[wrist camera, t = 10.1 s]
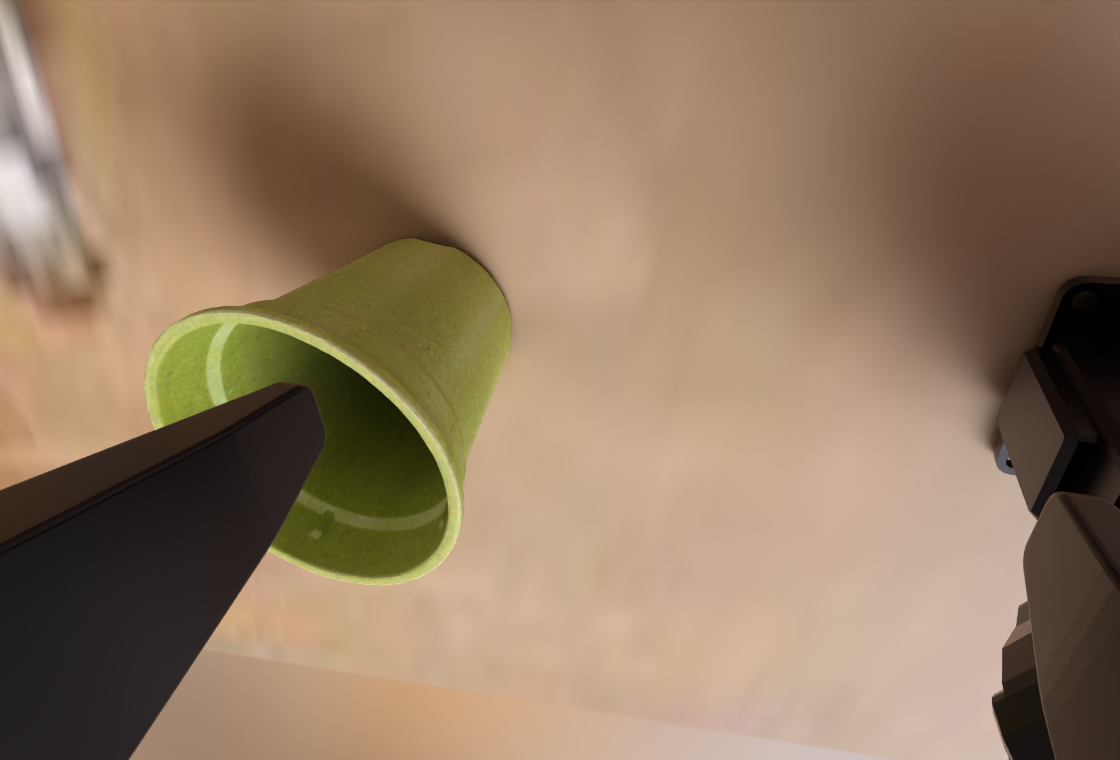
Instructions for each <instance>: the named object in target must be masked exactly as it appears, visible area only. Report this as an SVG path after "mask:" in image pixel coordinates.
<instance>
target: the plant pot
mask: <svg viewBox="0 0 1120 760" xmlns="http://www.w3.org/2000/svg"><path fill="white" fill-rule="evenodd" d="M510 346H511V315H510V311H509V308H508V305H507V302H506V300H505V298H504V296H503V294H502V292H501V290H500V289H499V287H498V286H497V284H496V283H495V281H494V280H493V279H492V278H491V276H490V275H489V274H488V273H487V272H486V271H485V270H484V269H483V268H482V267H481V266H480V265H479V264H478V263H477V262H475V261H474V260H473V259H472V258H471V257H469V256H468V255H466V254H465V253H463V252H461V251H460V250H458V249H456V248H453V247H448V246H442V245H438V244H434V243H430V242H426V241H422V240H419V239H416V238H408V239H401V240H397V241H393V242H391V243H388V244H386V245H384V246H382V247H381V248H379V249H377V250H375V251H373V252H371V253H369V254H367V255H365V256H363V257H361V258H359V259H357V260H355V261H353V262H351V263H349V264H347V265H345V266H343V267H341V268H339V269H337V270H334V271H332V272H330V273H328V274H326V275H324V276H322V277H320V278H318V279H316V280H314V281H312V282H310V283H308V284H306V285H304V286H302V287H300V288H298V289H296V290H294V291H291V292H289V293H287V294H285V295H283V296H281V297H279V298H277V299H275V300H265V301H257V302H253V303H249V304H246V305H243V306H223V307H215V308H209V309H205V310H201V311H198V312H195V313H192V314H190V315H188V316H186V317H184V318H183V319H181V320H179V321H177V322H175V323H174V324H172V325H171V326H170V327H168V328H167V329H166V330H165V331H164V332H163V333H162V334H161V335H160V336H159V337H158V339H157V340H156V342H155V343H154V344H153V346H152V348H151V350H150V352H149V355H148V357H147V363H146V366H145V368H146V371H145V383H144V392H145V399H146V404H147V409H148V412H149V415H150V418H151V421H152V424H153V427H154V430H156V429H159V428H161V427H164V426H167V425H169V424H172V423H174V422H177V421H179V420H182V419H185V418H187V417H190V416H192V415H195V414H197V413H200V412H203V411H205V410H208V409H210V408H213V407H215V406H218V405H221V404H223V403H226V402H228V401H231V400H233V399H236V398H238V397H241V396H244V395H246V394H249V393H251V392H254V391H256V390H259V389H262V388H264V387H267V386H269V385H272V384H274V383H277V382H283V381H285V382H293V383H300V384H305V385H307V386H309V387H310V388H311V389H312V390H313V392H314V394H315V397H316V400H317V404H318V407H319V410H320V413H321V416H322V419H323V422H324V425H325V428H326V442H325V446H324V448H323V450H322V452H321V454H320V456H319V458H318V460H317V462H316V464H315V465H314V467H313V469H312V471H311V473H310V475H309V477H308V479H307V481H306V482H305V484H304V486H303V488H302V490H301V492H300V494H299V496H298V498H297V499H296V501H295V503H294V505H293V507H292V509H291V511H290V513H289V515H288V516H287V518H286V520H285V522H284V524H283V526H282V527H281V529H280V531H279V533H278V535H277V536H276V538H275V540H274V541H273V543H272V544H271V546H270V548H269V549H268V551H269V552H270V553H272V554H274V555H276V556H278V557H280V558H282V559H284V560H286V561H288V562H290V563H292V564H294V565H297V566H299V567H301V568H303V569H305V570H308V571H310V572H313V573H316V574H319V575H322V576H325V577H329V578H332V579H336V580H339V581H344V582H350V583H356V584H364V585H391V584H399V583H403V582H406V581H410V580H414V579H417V578H419V577H421V576H424V575H426V574H427V573H429V572H431V571H432V570H433V569H435V568H436V567H438V566H439V565H440V564H441V563H442V562H443V560H444V559H445V558H446V557H447V556H448V554H449V553H450V551H451V550H452V548H453V546H454V544H455V542H456V540H457V538H458V535H459V533H460V530H461V526H462V522H463V514H464V495H463V485H464V479H465V471H466V459H467V457H468V454H469V451H470V449H471V446H472V444H473V441H474V439H475V436H476V434H477V431H478V429H479V426H480V424H481V421H482V419H483V416H484V414H485V411H486V409H487V406H488V404H489V401H490V399H491V396H492V394H493V392H494V389H495V387H496V384H497V382H498V380H499V377H500V375H501V373H502V370H503V368H504V365H505V363H506V360H507V357H508V355H509V352H510Z"/></svg>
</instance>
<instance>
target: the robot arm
mask: <svg viewBox="0 0 1120 760" xmlns="http://www.w3.org/2000/svg"><path fill="white" fill-rule="evenodd" d="M1085 291H1089V292H1091V295H1090V296H1089V297H1088V298H1087V299H1086V300H1084V301H1081V302H1073V301H1072V299H1073V298H1074V297H1075V295H1077V294H1079V293H1081V292H1085ZM997 424H998V427H999V430H1000V433H1001V436H1000V438H999V441H998V443H997V446H996V448H995V451H994V458H995V461H996V464H997V466H998V468H999V469H1000V470H1001V471H1002V472H1004V473H1007V474H1011V475H1016V477H1017V479H1018V482H1019V485H1020V488H1021V490H1022V493H1023V496H1024V498H1025V501H1026V504H1027V507H1028V509H1029V511H1030V512H1031V514H1032V515H1033V516H1034V517H1035V518H1036V519H1037V520H1038V521H1037V523H1036V525H1035V527H1034V529H1033V531H1032V533H1031V535H1030V537H1029V539H1028V542H1027V544H1026V546H1025V550H1024V557H1023V568H1024V576H1025V584H1026V592H1027V599H1028V601H1026V602H1025V603H1023V604H1021V605H1020V606H1019V608H1018V616H1017V624H1016V627H1015V629H1014V630H1013V632H1012V634H1011V635H1010V637H1009V638H1008V640H1007V642H1006V643H1005V645H1004V647H1003V648H1002V685H1003V690H1002V691H1000V692H998V693H996V694H994V696H993V697H992V707H993V714H994V717H995V720H996V723H997V727H998V730H999V733H1000V736H1001V739H1002V742H1003V745H1004V748H1005V750H1006V752H1007V754H1008V757H1009V760H1120V278H1111V277H1095V276H1080V277H1075V278H1073V279H1070V280H1068V281H1067V282H1065V283H1064V284H1063V285H1061V287H1060V288H1059V290H1058V291H1057V294H1056V296H1055V299H1054V301H1053V304H1052V306H1051V309H1050V311H1049V314H1048V316H1047V319H1046V321H1045V324H1044V327H1043V329H1042V332H1041V334H1040V337H1039V339H1038V342H1037V344H1036V346H1033V347H1031V348H1030V349H1028V350H1027V351H1025V352H1024V353H1023V354H1022V356H1021V359H1020V361H1019V364H1018V366H1017V369H1016V372H1015V374H1014V377H1013V379H1012V382H1011V385H1010V387H1009V390H1008V392H1007V395H1006V398H1005V400H1004V403H1003V405H1002V408H1001V411H1000V413H999V416H998V418H997ZM325 442H326V428H325V425H324V422H323V419H322V416H321V413H320V410H319V407H318V404H317V400H316V397H315V394H314V392H313V390H312V389H311V388H310V387H309V386H307V385H305V384H300V383H293V382H285V381H283V382H277V383H274V384H272V385H269V386H267V387H264V388H262V389H259V390H256V391H254V392H251V393H249V394H246V395H244V396H241V397H238V398H236V399H233V400H231V401H228V402H226V403H223V404H221V405H218V406H215V407H213V408H210V409H208V410H205V411H203V412H200V413H197V414H195V415H192V416H190V417H187V418H185V419H182V420H179V421H177V422H174V423H172V424H169V425H167V426H164V427H161V428H159V429H156V430H154V431H151V432H149V433H146V434H143V435H141V436H138V437H136V438H133V439H131V440H128V441H125V442H123V443H120V444H118V445H115V446H113V447H110V448H107V449H105V450H102V451H100V452H97V453H95V454H92V455H89V456H87V457H84V458H82V459H79V460H77V461H74V462H72V463H69V464H66V465H64V466H61V467H59V468H56V469H54V470H51V471H48V472H46V473H43V474H41V475H38V476H36V477H33V478H30V479H28V480H25V481H23V482H20V483H18V484H15V485H12V486H10V487H7V488H5V489H2V490H0V760H129V759H130V758H131V756H132V755H133V753H134V752H135V750H136V749H137V747H138V746H139V744H140V743H141V741H142V739H143V738H144V736H145V735H146V733H147V732H148V730H149V729H150V727H151V726H152V724H153V723H154V721H155V720H156V718H157V717H158V715H159V714H160V712H161V711H162V709H163V708H164V706H165V705H166V703H167V702H168V700H169V699H170V697H171V695H172V694H173V693H174V691H175V690H176V688H177V687H178V685H179V684H180V682H181V681H182V679H183V678H184V676H185V674H186V673H187V672H188V670H189V668H190V667H191V666H192V664H193V662H194V661H195V659H196V658H197V656H198V655H199V653H200V652H201V650H202V649H203V647H204V646H205V644H206V643H207V641H208V640H209V638H210V637H211V635H212V634H213V632H214V631H215V629H216V628H217V626H218V625H219V623H220V622H221V620H222V619H223V617H224V616H225V614H226V613H227V611H228V610H229V608H230V607H231V605H232V604H233V602H234V601H235V599H236V598H237V596H238V595H239V593H240V591H241V590H242V588H243V587H244V585H245V584H246V582H247V581H248V579H249V578H250V576H251V575H252V573H253V572H254V570H255V569H256V567H257V566H258V564H259V563H260V561H261V560H262V558H263V557H264V555H265V554H266V552H267V551H268V549H269V548H270V546H271V544H272V543H273V541H274V540H275V538H276V536H277V535H278V533H279V531H280V529H281V527H282V526H283V524H284V522H285V520H286V518H287V516H288V515H289V513H290V511H291V509H292V507H293V505H294V503H295V501H296V499H297V498H298V496H299V494H300V492H301V490H302V488H303V486H304V484H305V482H306V481H307V479H308V477H309V475H310V473H311V471H312V469H313V467H314V465H315V464H316V462H317V460H318V458H319V456H320V454H321V452H322V450H323V448H324V446H325ZM1009 457H1010V460H1008V458H1009Z"/></svg>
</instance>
